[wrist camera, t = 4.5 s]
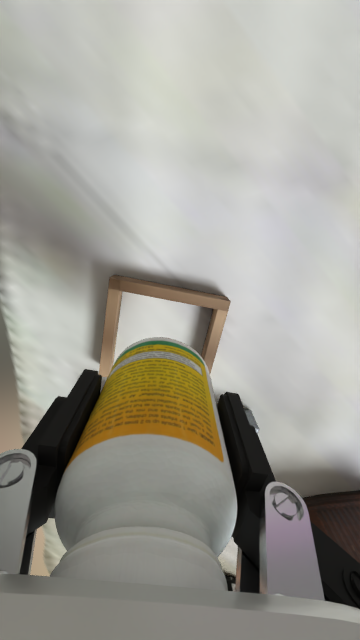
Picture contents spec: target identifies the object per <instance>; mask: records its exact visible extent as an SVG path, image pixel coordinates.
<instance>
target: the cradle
mask: <svg viewBox="0 0 360 640" xmlns="http://www.w3.org/2000/svg"><path fill="white" fill-rule="evenodd" d="M122 291H124V292H129V293H135V294H140V295H145V296H150V297H155V298H161V299H166V300H171V301H176V302H181V303H187V304H192V305H197V306H202V307H207V308H213V313H212V316H211V320H210V324H209V328H208V332H207V335H206V339H205V343H204V347H203V351H202V354H201V357H202V359H203V360H204V361H205V363H206V365H207V368H208V371H209V374H210V373H211V369H212V366H213V362H214V358H215V355H216V351H217V348H218V344H219V341H220V337H221V334H222V330H223V327H224V323H225V320H226V316H227V313H228V309H229V306H230V302H231V301H230V300H229V299H228V298H227V297H225V296H220V295H215V294H210V293H205V292H199V291H194V290H189V289H184V288H179V287H174V286H169V285H164V284H159V283H154V282H149V281H144V280H139V279H134V278H129V277H124V276H119V275H113V276H112V277H110V279H109V288H108V296H107V305H106V314H105V323H104V332H103V341H102V350H101V359H100V368H99V375H102V377H108V376H109V374H110V372H111V369H112V367H113V360H114V352H115V344H116V337H117V329H118V322H119V314H120V306H121V299H122Z"/></svg>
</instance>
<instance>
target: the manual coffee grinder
mask: <svg viewBox="0 0 360 640" xmlns="http://www.w3.org/2000/svg"><path fill="white" fill-rule="evenodd" d="M302 499H303V501H304V502H305V504H306V506H307V510H308V513H309V518H310V521H311V522H312V523H313V524H314V525H316V526H317V527H318V528H319V529H320V530H321V531H323V532H324V533H325V534H326V535H327V536H328V537H330V538H331V539H332V540H333V541H334V542H335V543H337V544H338V545H339V546H340V547H341V548H342V549H344V550H345V551H346V552H347V553H348V554H349V555H351V556H352V557H353V558H354V559H355V560H356V561H358V562H359V563H360V491H353V492H342V493H332V494H322V495H317V496H312V497H307V498H302Z"/></svg>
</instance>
